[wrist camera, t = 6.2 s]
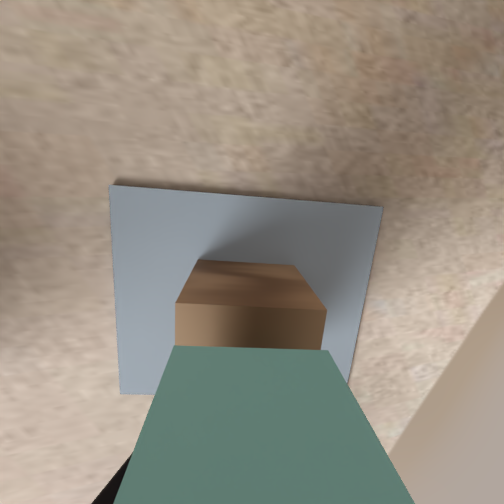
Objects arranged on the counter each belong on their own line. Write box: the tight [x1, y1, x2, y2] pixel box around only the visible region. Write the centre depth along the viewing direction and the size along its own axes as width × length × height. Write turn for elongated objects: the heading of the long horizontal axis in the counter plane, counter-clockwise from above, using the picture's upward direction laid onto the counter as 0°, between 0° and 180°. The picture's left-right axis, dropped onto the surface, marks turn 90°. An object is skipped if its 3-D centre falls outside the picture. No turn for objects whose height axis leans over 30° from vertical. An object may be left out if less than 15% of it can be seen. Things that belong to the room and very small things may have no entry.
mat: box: [109, 185, 383, 395], centre depth 17 cm, size 16×14×1 cm
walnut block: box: [175, 259, 327, 350], centre depth 14 cm, size 6×6×6 cm
